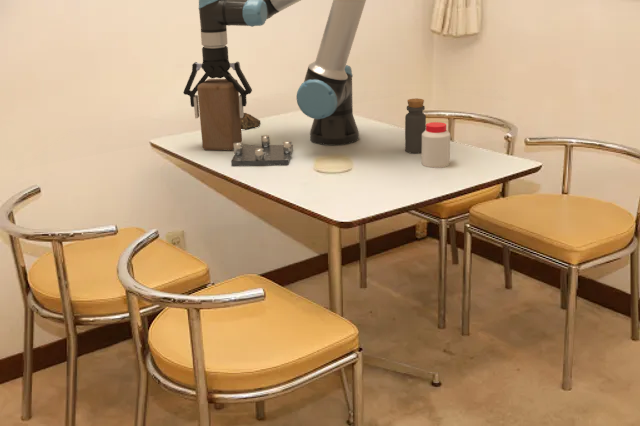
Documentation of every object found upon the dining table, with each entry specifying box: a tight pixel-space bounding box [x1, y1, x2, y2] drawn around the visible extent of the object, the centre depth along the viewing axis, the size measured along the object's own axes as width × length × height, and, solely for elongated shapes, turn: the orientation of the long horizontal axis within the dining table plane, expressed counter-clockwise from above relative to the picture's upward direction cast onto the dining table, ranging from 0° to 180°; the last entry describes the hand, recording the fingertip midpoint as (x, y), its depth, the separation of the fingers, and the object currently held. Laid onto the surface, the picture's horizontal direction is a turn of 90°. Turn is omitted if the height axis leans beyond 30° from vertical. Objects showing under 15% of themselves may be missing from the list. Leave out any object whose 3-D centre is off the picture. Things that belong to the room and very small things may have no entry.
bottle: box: [404, 98, 427, 155], centre depth 224 cm, size 6×6×15 cm
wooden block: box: [197, 78, 243, 151], centre depth 235 cm, size 10×10×20 cm
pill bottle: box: [420, 121, 451, 169], centre depth 213 cm, size 8×8×11 cm
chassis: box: [230, 134, 294, 167], centre depth 225 cm, size 17×17×4 cm
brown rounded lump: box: [241, 112, 261, 130], centre depth 263 cm, size 13×12×5 cm
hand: (219, 117), depth 236 cm, fingers open, 13 cm apart
